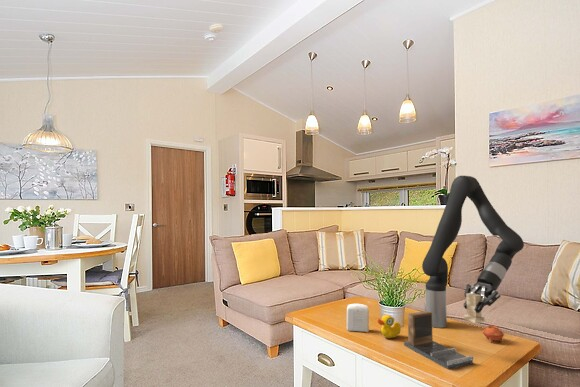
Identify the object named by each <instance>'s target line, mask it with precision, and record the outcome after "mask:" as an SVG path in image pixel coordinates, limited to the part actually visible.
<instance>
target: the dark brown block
mask: <svg viewBox="0 0 580 387" xmlns="http://www.w3.org/2000/svg"><path fill="white" fill-rule="evenodd" d="M407 327H408V328H407V329H408V330H407V331H408V332H407V333H408V334H407V335H408V339H407V340H408V343H410V344H412V345H419V344H424V343H429V342H433V341H434V340H433V337H434V336H433V327H432V313H431V312H429V311H425V310H424V311H423V310H422V311H416V312H409V313H407Z"/></svg>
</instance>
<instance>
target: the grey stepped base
mask: <svg viewBox="0 0 580 387" xmlns="http://www.w3.org/2000/svg"><path fill="white" fill-rule="evenodd" d="M403 346H404V347H406V348H408V349H409V350H412V352H416V353H417V354H419V355H420V356H423V357H425V358H426V359H428V360H430V361H431V362H434V363H436V364H437V365H439V366H441V367H443V368H445V369H447V370H451V369H456V368H461V367H465V366H469V365H472V364H474V363H473V362H474V356H473V355H467V356H466V355H464V354H462V353H459V352H458V351H457V348H455V347H451V348H449V347H446V346H445V345H443V344H441V343H438V342H437V341H434V340H433V342H429V343H424V344H419V345H412V344H410V343H408V341H404V342H403Z"/></svg>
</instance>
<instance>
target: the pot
mask: <svg viewBox="0 0 580 387" xmlns="http://www.w3.org/2000/svg"><path fill="white" fill-rule="evenodd" d="M482 334H483V336H485V337H486V339H488V340H489V342H490V344H492V343H493V341H499V342H500V343H502V342H503V337H504V336H505V334H504V332H503V331H502V330H501V329H500V328H499V327H497V326H496V325H488V326H487V327H485V328H484V329H483V330H482Z"/></svg>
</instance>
